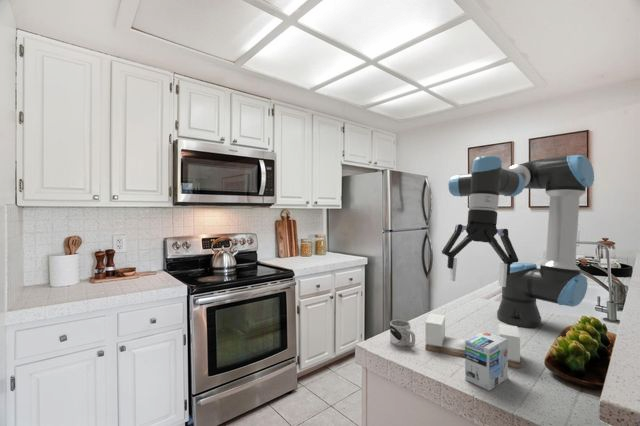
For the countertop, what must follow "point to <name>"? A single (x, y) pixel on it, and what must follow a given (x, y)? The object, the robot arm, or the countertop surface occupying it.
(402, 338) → the mug
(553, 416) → the countertop surface
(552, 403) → the countertop surface
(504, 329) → the mounted modules
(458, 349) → the rail board
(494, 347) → the light bulb box
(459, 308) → the countertop surface
